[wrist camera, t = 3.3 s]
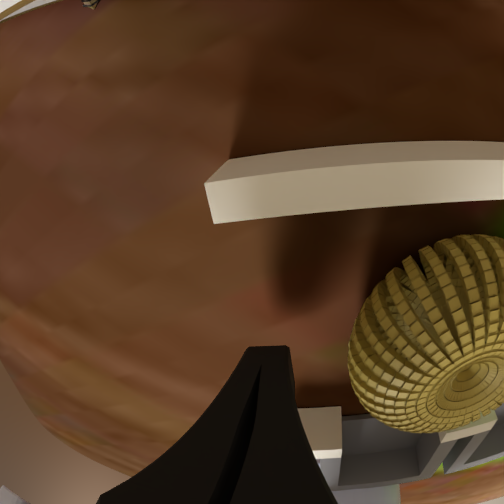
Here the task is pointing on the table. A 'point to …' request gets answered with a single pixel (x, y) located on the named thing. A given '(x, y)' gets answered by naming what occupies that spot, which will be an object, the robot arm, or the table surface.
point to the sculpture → (433, 338)
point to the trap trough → (359, 197)
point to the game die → (29, 7)
